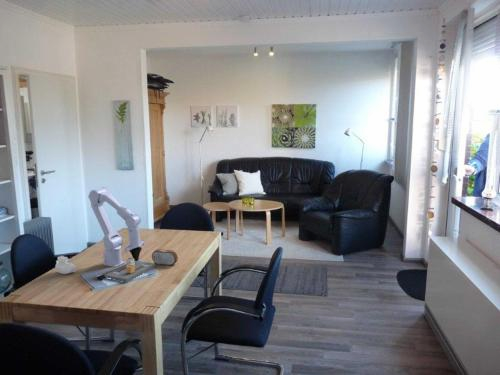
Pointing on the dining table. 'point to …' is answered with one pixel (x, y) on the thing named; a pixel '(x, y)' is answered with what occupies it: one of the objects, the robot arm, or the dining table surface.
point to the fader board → (126, 277)
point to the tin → (164, 257)
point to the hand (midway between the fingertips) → (136, 260)
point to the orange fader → (130, 268)
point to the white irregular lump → (65, 266)
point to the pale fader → (130, 261)
